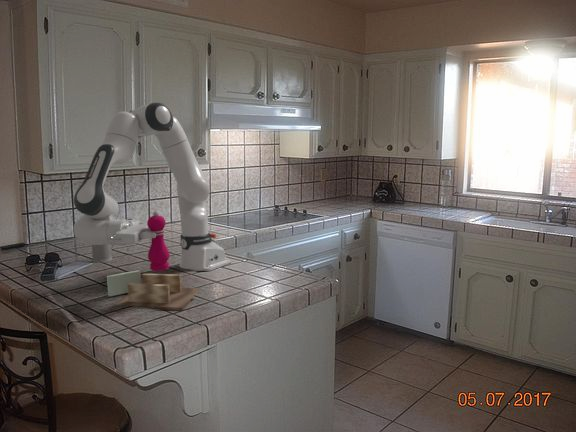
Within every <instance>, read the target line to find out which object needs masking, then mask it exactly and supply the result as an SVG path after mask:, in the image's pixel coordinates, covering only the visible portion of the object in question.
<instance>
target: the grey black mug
mask: <svg viewBox="0 0 576 432" xmlns="http://www.w3.org/2000/svg"><path fill="white" fill-rule="evenodd" d="M113 247H115V245H109V244H103V245H91V251H92V261H91V262H92V263H99V264H100V263H102V264H103V263H108V262H111V261H113V260H114V259H113V257H112V249H113Z"/></svg>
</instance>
